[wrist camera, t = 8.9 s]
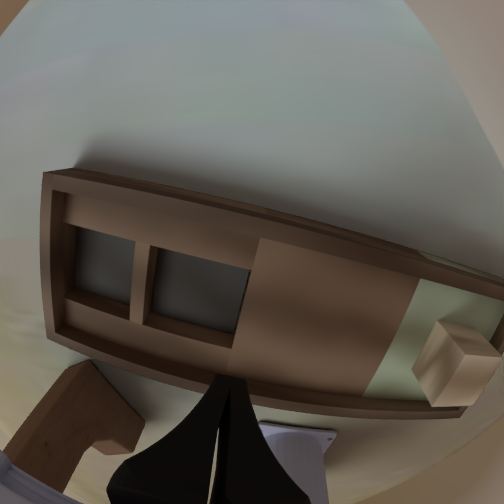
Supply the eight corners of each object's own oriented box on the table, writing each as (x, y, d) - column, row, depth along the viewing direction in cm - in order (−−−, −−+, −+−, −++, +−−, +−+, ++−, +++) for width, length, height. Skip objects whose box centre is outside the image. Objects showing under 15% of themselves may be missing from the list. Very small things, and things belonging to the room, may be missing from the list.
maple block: (449, 372, 21) (472, 405, 16) (411, 368, 20) (431, 406, 16) (474, 327, 19) (503, 357, 15) (436, 320, 19) (465, 354, 15)
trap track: (446, 395, 24) (459, 417, 21) (68, 318, 23) (47, 338, 20) (508, 280, 20) (530, 296, 17) (72, 167, 19) (43, 172, 16)
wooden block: (147, 422, 26) (90, 569, 9) (119, 427, 27) (61, 556, 10) (90, 357, 24) (-12, 503, 7) (65, 367, 25) (-28, 493, 8)
